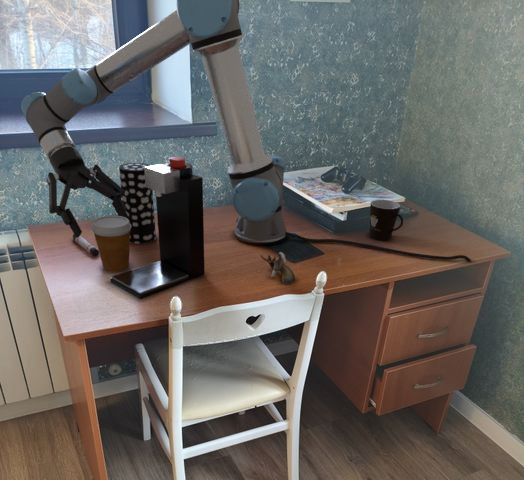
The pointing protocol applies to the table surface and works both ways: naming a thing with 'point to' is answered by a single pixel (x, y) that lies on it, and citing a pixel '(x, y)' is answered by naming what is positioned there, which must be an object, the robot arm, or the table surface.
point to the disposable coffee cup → (113, 241)
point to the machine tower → (182, 225)
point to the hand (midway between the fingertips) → (103, 228)
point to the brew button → (177, 162)
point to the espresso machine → (157, 273)
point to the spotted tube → (138, 202)
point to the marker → (86, 245)
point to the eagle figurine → (280, 268)
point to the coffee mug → (383, 219)
